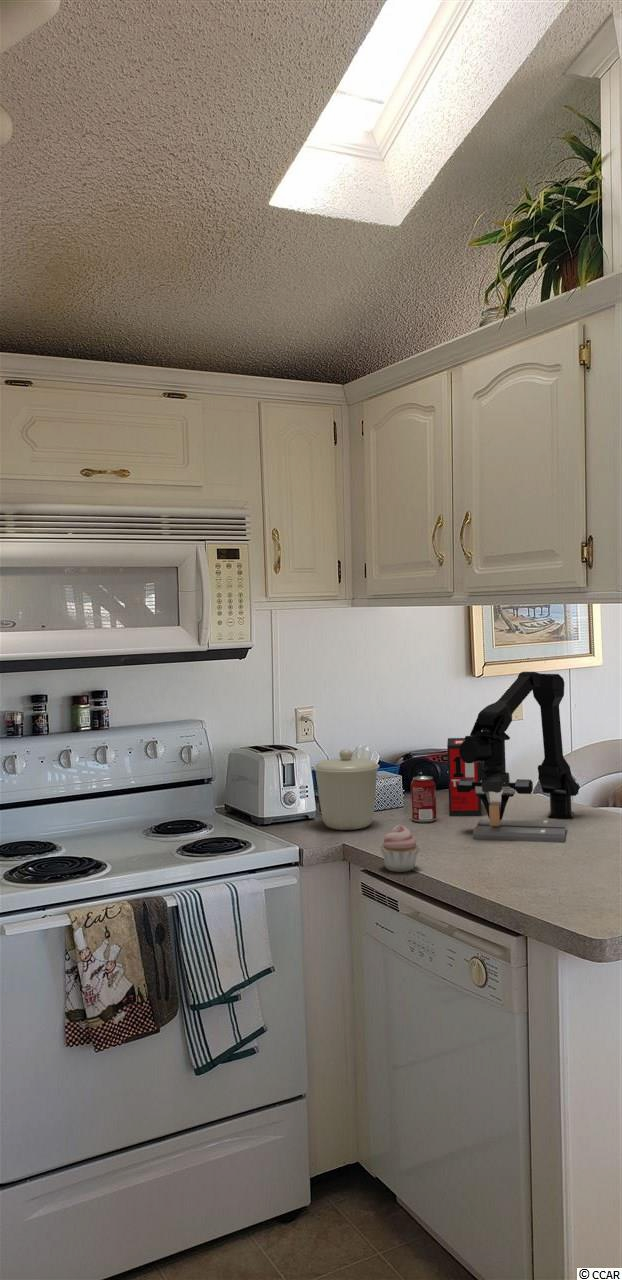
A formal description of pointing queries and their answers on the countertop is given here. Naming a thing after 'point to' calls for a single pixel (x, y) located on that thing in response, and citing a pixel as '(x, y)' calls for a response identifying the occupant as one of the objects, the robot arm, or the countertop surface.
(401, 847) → the cupcake
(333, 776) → the canister
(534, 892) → the countertop surface
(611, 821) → the countertop surface
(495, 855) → the countertop surface
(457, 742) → the cleaning product box
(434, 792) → the soda can
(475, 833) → the console
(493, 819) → the tan rectangular block
